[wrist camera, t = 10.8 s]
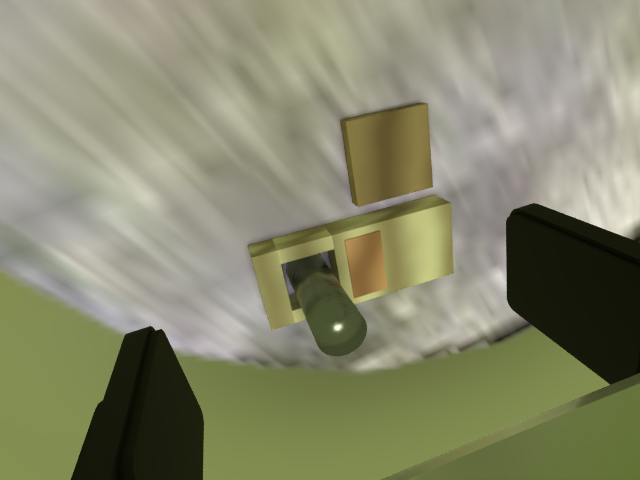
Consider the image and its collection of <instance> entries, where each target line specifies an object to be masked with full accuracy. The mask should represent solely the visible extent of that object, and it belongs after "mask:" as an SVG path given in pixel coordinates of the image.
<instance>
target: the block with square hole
mask: <svg viewBox="0 0 640 480" xmlns="http://www.w3.org/2000/svg"><path fill="white" fill-rule="evenodd" d="M248 248H249V251H250V255H251V259H252V262H253V266H254V269H255V273H256V277H257V280H258V284H259V288H260V291H261V295H262V298H263V302H264V306H265V309H266V313H267V316H268V320H269V324H270V327H271V330H274V329H277V328H280V327H283V326H287V325H290V324H293V323H296V322H299V321H303V320H306V317H305V315H304V313H303V311H302V308H301V306H300V304H299V301H298V299H297V297H296V294H292V295H289V296H288V292H287V288H286V284H285V279H284V275H283V271H282V267H281V264H283V263H287V262H290V261H294V260H297V259H301V258H304V257H308V256H311V255H315V254H318V253H322V252H325V251H328V255H329V261H330V266H331V271H332V273H333V274H334V276H335V277H336V278H337V280H338V281H339V283H340V284H341V286H342V287H343V289H344V290H345V292H346V293H347V295H348V296H349V297H350V299H351V300H352V302H353V303H354V304H357V303H360V302H363V301H366V300H370V299H373V298H376V297H379V296H382V295H385V294H389V293H392V292H395V291H398V290H401V289H405V288H408V287H411V286H414V285H417V284H421V283H424V282H427V281H430V280H433V279H436V278H440V277H443V276H446V275H449V274H452V273H454V268H453V244H452V220H451V202H448V201H446V200H444V199H442V198H440V197H438V196H436V195H433V196H429V197H426V198H422V199H418V200H415V201H411V202H407V203H403V204H400V205H396V206H392V207H389V208H385V209H381V210H378V211H374V212H370V213H366V214H363V215H359V216H355V217H352V218H348V219H344V220H341V221H337V222H333V223H329V224H326V225H322V226H318V227H315V228H311V229H307V230H304V231H300V232H296V233H293V234H289V235H285V236H281V237H278V238H274V239H270V240H267V241H263V242H259V243H256V244H252V245H248Z"/></svg>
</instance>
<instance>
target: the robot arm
mask: <svg viewBox="0 0 640 480" xmlns="http://www.w3.org/2000/svg"><path fill="white" fill-rule="evenodd" d="M506 257H507V301H508V304H509V306H510V307H511V308H512V310H513V311H515V312H516V313H517V314H519V315H520V316H521V317H522V318H524V319H525V320H526V321H528V322H529V323H530V324H532V325H533V326H534V327H536V328H537V329H538V330H540V331H541V332H542V333H544V334H545V335H546V336H548V337H549V338H550V339H551V340H553V341H554V342H555V343H557V344H558V345H559V346H561V347H562V348H563V349H564V350H566V351H567V352H568V353H570V354H571V355H572V356H574V357H575V358H576V359H578V360H579V361H580V362H582V363H583V364H584V365H586V366H587V367H588V368H589V369H591V370H592V371H593V372H595V373H596V374H597V375H599V376H600V377H601V378H603V379H604V380H605V381H607V382H608V383H609V384H610V385H609V386H607V387H604V388H602V389H599V390H597V391H594V392H592V393H589V394H587V395H584V396H582V397H580V398H577V399H575V400H572V401H570V402H567V403H565V404H562V405H560V406H557V407H555V408H553V409H550V410H548V411H545V412H543V413H540V414H538V415H536V416H533V417H531V418H528V419H526V420H524V421H521V422H519V423H516V424H514V425H511V426H509V427H506V428H504V429H502V430H499V431H497V432H494V433H492V434H489V435H487V436H485V437H482V438H480V439H478V440H475V441H473V442H470V443H468V444H465V445H463V446H461V447H458V448H456V449H454V450H451V451H448V452H446V453H444V454H441V455H439V456H436V457H434V458H431V459H429V460H427V461H424V462H422V463H420V464H417V465H415V466H412V467H410V468H408V469H405V470H403V471H400V472H398V473H396V474H393V475H391V476H389V477H386V478H384V479H381V480H640V243H639V242H637V241H634V240H631V239H629V238H626V237H623V236H621V235H618V234H615V233H613V232H610V231H608V230H605V229H602V228H600V227H597V226H594V225H592V224H589V223H586V222H584V221H581V220H579V219H576V218H573V217H571V216H568V215H565V214H563V213H560V212H557V211H555V210H552V209H550V208H547V207H544V206H542V205H539V204H535V203H533V204H529V205H526V206H523V207H520V208H517V209H514V210H513V211H512V212H511V214H510V216H509V217H508V218H507V220H506ZM203 435H204V420H203V414H202V411H201V408H200V406H199V404H198V402H197V399H196V397H195V395H194V394H193V391H192V389H191V387H190V385H189V383H188V381H187V379H186V376H185V374H184V372H183V370H182V368H181V366H180V364H179V362H178V360H177V358H176V355H175V353H174V351H173V349H172V347H171V345H170V343H169V341H168V339H167V337H166V334H165V333H164V331H163V330H162V329H160V330H157V331H155V329H154V328H153V327H151V326H149V327H146V328H143V329H140V330H137V331H134V332H131V333H128V334H126V335H125V336H124V339H123V342H122V345H121V348H120V351H119V354H118V357H117V360H116V363H115V366H114V369H113V372H112V375H111V378H110V382H109V384H108V387H107V390H106V393H105V396H104V399H103V401H101V402H100V403H99V404H98V405H97V407H96V409H95V412H94V415H93V417H92V420H91V423H90V426H89V429H88V432H87V435H86V438H85V441H84V443H83V446H82V449H81V452H80V455H79V458H78V461H77V463H76V466H75V469H74V472H73V475H72V478H71V480H203V439H204V437H203Z"/></svg>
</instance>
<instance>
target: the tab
mask: <svg viewBox="0 0 640 480" xmlns="http://www.w3.org/2000/svg"><path fill="white" fill-rule="evenodd" d="M341 127H342V134H343V141H344V147H345V154H346V161H347V168H348V174H349V181H350V188H351V194H352V201H353V203H354V204H355V205H356V206H358V207H359V206H363V205H367V204H371V203H374V202H378V201H382V200H386V199H389V198H393V197H397V196H401V195H405V194H408V193H412V192H416V191H420V190H423V189H427V188H431V187H433V183H432V166H431V149H430V133H429V116H428V104H427V103H417V104H413V105H408V106H404V107H399V108H395V109H390V110H386V111H381V112H377V113H372V114H368V115H363V116H359V117H354V118H350V119H345V120H341Z"/></svg>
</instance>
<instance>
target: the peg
mask: <svg viewBox="0 0 640 480" xmlns="http://www.w3.org/2000/svg"><path fill="white" fill-rule="evenodd" d="M286 273H287V276H288V278H289V281H290V283H291V285H292V288H293V290H294V292H295V294H296V297H297V299H298V301H299V304H300V306H301V308H302V311H303V313H304V315H305V317H306V320H307V322H308V324H309V327H310V329H311V331H312V334H313V336H314V338H315V340H316V343H317V345H318V347H319V348H320V350H321V351H322V352H324V353H325V354H328V355H331V356H342V355H346V354H349V353H351V352H352V351H354V350H355V349H357V348H358V347H359V346H360V345H361V343H362V342H363V340H364V339H365V336H366V333H367V325H366V322H365V320H364V318H363V316H362V315H361V314H360V312H359V311H358V309H357V308H356V306H355V305H354V303H353V302H352V300H351V299H350V297H349V296H348V295H347V293H346V292H345V290H344V289H343V287H342V286H341V284H340V283H339V281H338V280H337V278H336V277H335V276H334V274H333V273H332V271H331V270H330V268H329V267H328V265H327V264H326V262H325V261H324V260H323V258H322V257H321V255H320V254H319V253H318V254H315V255H311V256H308V257H304V258H301V259H297V260H294V261H290V262H287V265H286Z"/></svg>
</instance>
